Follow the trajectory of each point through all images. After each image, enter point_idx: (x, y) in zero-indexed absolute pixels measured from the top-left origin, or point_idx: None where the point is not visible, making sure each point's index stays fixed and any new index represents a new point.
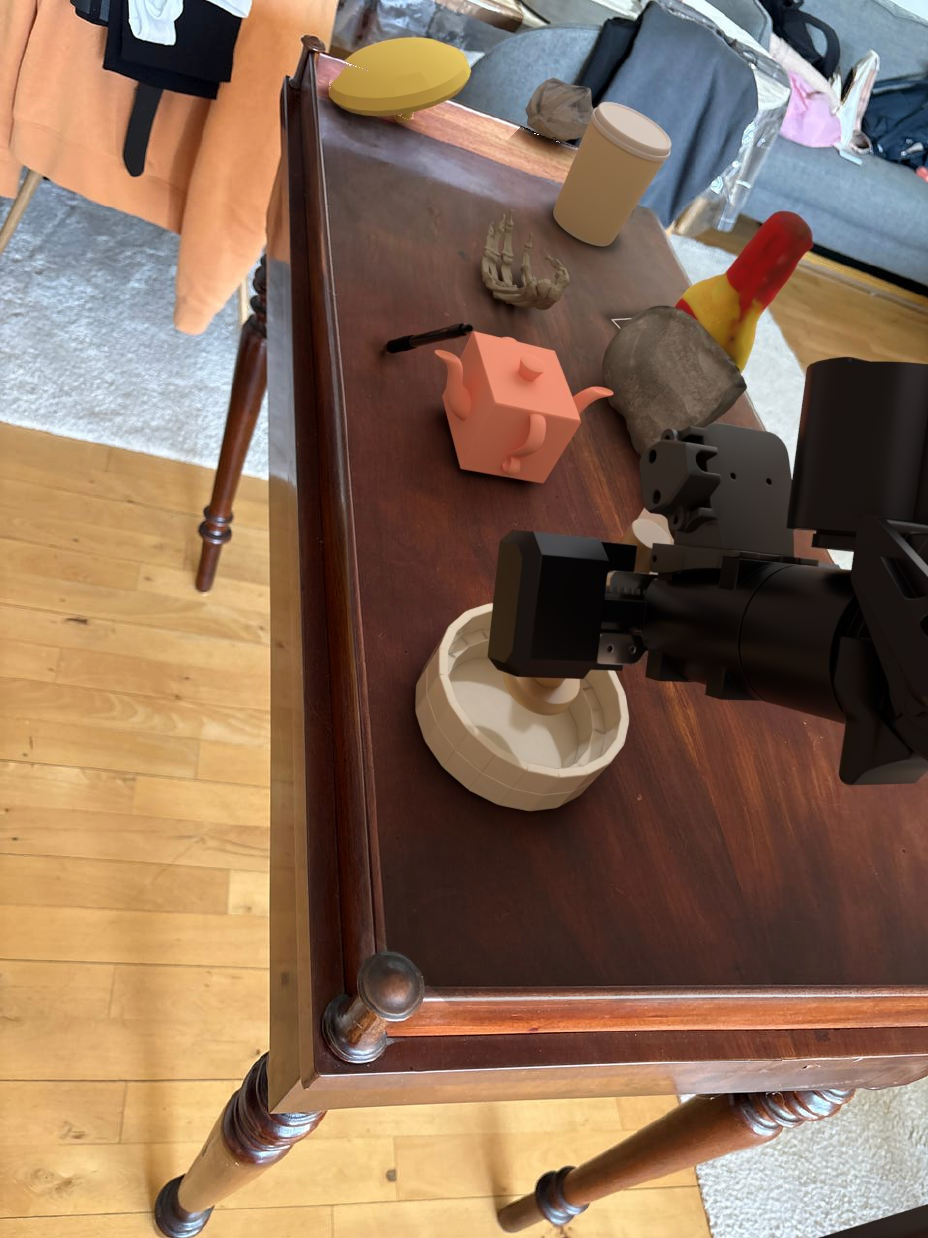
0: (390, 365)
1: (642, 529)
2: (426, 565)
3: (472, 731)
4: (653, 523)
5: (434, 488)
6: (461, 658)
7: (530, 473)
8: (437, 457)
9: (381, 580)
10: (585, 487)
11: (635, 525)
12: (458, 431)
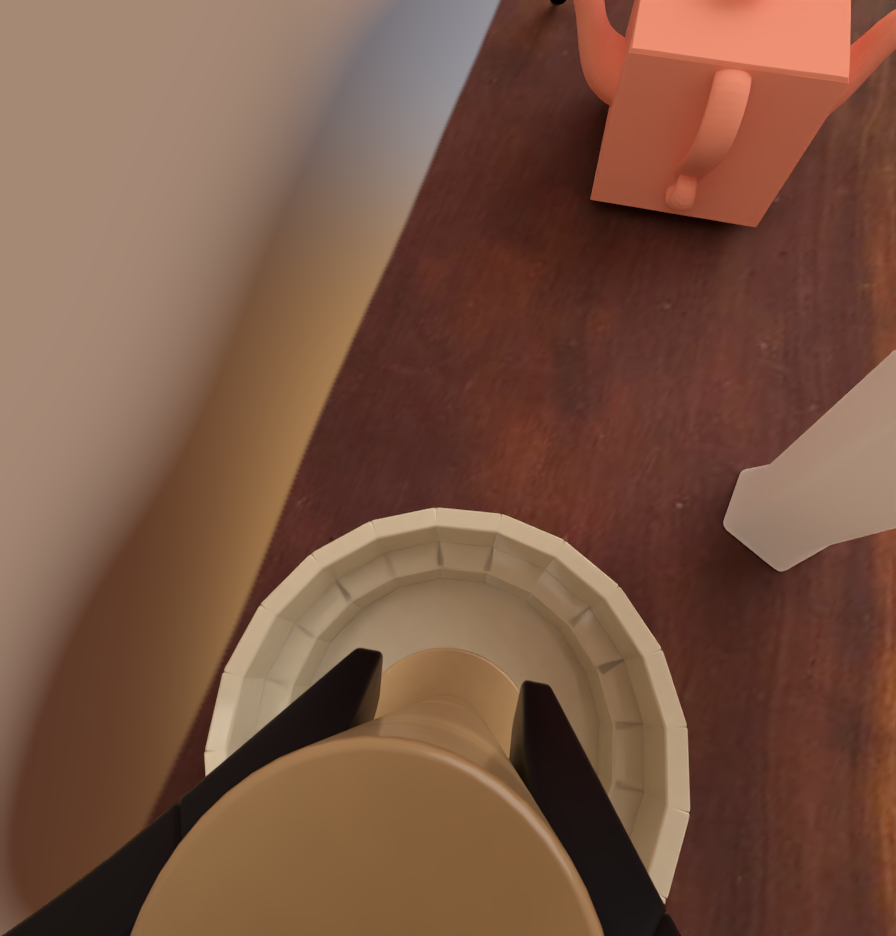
0: (556, 28)
1: (285, 917)
2: (450, 377)
3: None
4: (487, 841)
5: (534, 235)
6: (392, 586)
7: (727, 208)
8: (566, 180)
9: (354, 399)
10: (858, 234)
11: (213, 856)
12: (605, 129)
